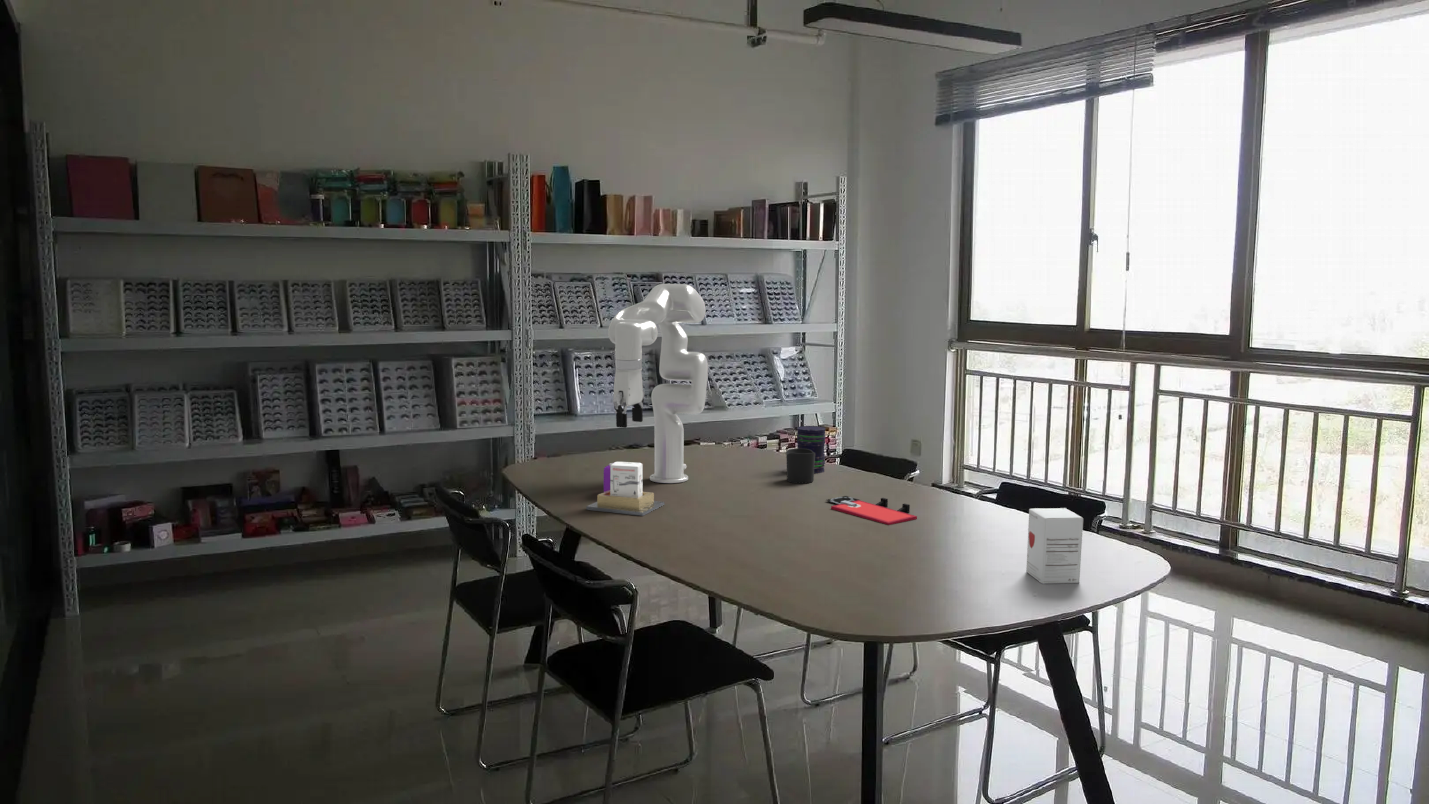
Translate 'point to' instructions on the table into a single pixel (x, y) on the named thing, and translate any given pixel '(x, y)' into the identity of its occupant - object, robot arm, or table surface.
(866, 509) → the red board with handle
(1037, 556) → the supplement box
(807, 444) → the storage jar
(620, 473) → the ink box
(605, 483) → the toy camera
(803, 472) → the pen holder
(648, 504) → the mount collar
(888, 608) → the table surface
